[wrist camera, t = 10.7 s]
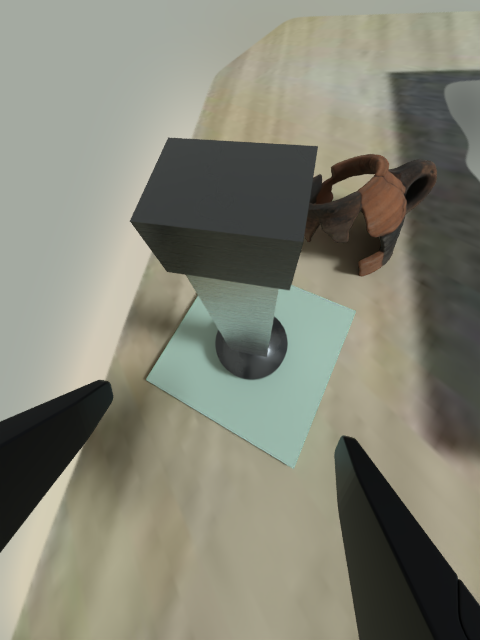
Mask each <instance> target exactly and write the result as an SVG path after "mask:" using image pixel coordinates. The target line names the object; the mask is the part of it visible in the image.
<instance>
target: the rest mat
mask: <svg viewBox="0 0 480 640" xmlns="http://www.w3.org/2000/svg"><path fill="white" fill-rule="evenodd" d="M355 312H356V311H354V310H352V309H350V308H347V307H345V306H342V305H340V304H337V303H335V302H332V301H330V300H327V299H325V298H322V297H320V296H317V295H315V294H313V293H310V292H308V291H305V290H303V289H300V288H298V287H295V286H293V285H291V288H290V291H289V290H283V289H279V291H278V297H277V302H276V308H275V314H274V316H275V317H276V318H277V319H278V320H279V321H280V322H281V324H282V325H283V327H284V329H285V332H286V335H287V341H288V346H287V352H286V355H285V358H284V360H283V362H282V363H281V365H280V366H279V368H278V369H277V370H276V371H275V372H274V373H272V374H271V375H270V376H268V377H266V378H263V379H260V380H244V379H241V378H238V377H236V376H234V375H233V374H231V373H230V372H229V371H228V370H227V369H226V368H225V367H224V366H223V365H222V363H221V362H220V360H219V358H218V356H217V353H216V347H215V340H216V335H217V332H218V328H217V326H216V324H215V323H214V321H213V319H212V318H211V316H210V314H209V313H208V311H207V309H206V308H205V306H204V304H203V303H202V301H201V299H200V298H199V296H198V297H197V298H196V300H195V301H194V303H193V305H192V306H191V308H190V309H189V311H188V313H187V314H186V316H185V317H184V319H183V321H182V322H181V324H180V326H179V327H178V329H177V330H176V332H175V334H174V335H173V337H172V338H171V340H170V342H169V343H168V345H167V346H166V348H165V350H164V351H163V353H162V354H161V356H160V358H159V359H158V361H157V363H156V364H155V366H154V367H153V369H152V371H151V372H150V374H149V375H148V377H147V379H146V380H147V381H149V382H150V383H152V384H154V385H155V386H157V387H159V388H160V389H162V390H164V391H165V392H167V393H169V394H170V395H172V396H174V397H175V398H177V399H179V400H180V401H182V402H183V403H185V404H187V405H188V406H190V407H192V408H193V409H195V410H197V411H198V412H200V413H202V414H203V415H205V416H207V417H208V418H210V419H212V420H213V421H215V422H217V423H218V424H220V425H222V426H223V427H225V428H227V429H228V430H230V431H232V432H233V433H235V434H237V435H238V436H240V437H242V438H243V439H245V440H247V441H248V442H250V443H251V444H253V445H255V446H256V447H258V448H260V449H261V450H263V451H265V452H266V453H268V454H270V455H271V456H273V457H275V458H276V459H278V460H280V461H281V462H283V463H285V464H286V465H288V466H290V467H291V468H293V469H294V467H295V465H296V462H297V459H298V457H299V454H300V452H301V449H302V447H303V444H304V442H305V439H306V437H307V434H308V432H309V429H310V426H311V424H312V421H313V419H314V416H315V414H316V411H317V409H318V406H319V404H320V401H321V399H322V396H323V394H324V391H325V388H326V386H327V383H328V381H329V378H330V376H331V373H332V371H333V368H334V366H335V363H336V361H337V358H338V356H339V353H340V350H341V348H342V345H343V343H344V340H345V338H346V335H347V333H348V330H349V328H350V325H351V323H352V320H353V317H354V315H355Z"/></svg>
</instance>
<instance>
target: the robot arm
mask: <svg viewBox="0 0 480 640" xmlns="http://www.w3.org/2000/svg"><path fill="white" fill-rule="evenodd" d="M112 401H113V392H112V388H111V384H110V382H108V381H104V380H97V381H95V382H92V383H90V384H88V385H85V386H83V387H81V388H78V389H76V390H74V391H71V392H69V393H67V394H65V395H62V396H59V397H57V398H55V399H52V400H50V401H48V402H46V403H43V404H41V405H38V406H36V407H34V408H31V409H29V410H27V411H24V412H22V413H20V414H17V415H15V416H13V417H10V418H8V419H6V420H3V421H1V422H0V552H1V551H2V550H3V549H4V547H5V546H6V545H7V543H8V542H9V541H10V540H11V538H12V537H13V536H14V534H15V533H16V532H17V530H18V529H19V528H20V527H21V525H22V524H23V523H24V521H25V520H26V519H27V518H28V516H29V515H30V513H31V512H32V511H33V510H34V508H35V507H36V506H37V505H38V503H39V502H40V501H41V499H42V498H43V497H44V496H45V494H46V493H47V492H48V490H49V489H50V488H51V486H52V485H53V484H54V482H55V481H56V480H57V478H58V477H59V476H60V475H61V474H62V472H63V471H64V470H65V468H66V467H67V466H68V464H69V463H70V462H71V461H72V459H73V458H74V457H75V455H76V454H77V453H78V451H79V450H80V449H81V448H82V446H83V445H84V444H85V442H86V441H87V440H88V438H89V437H90V435H91V434H92V432H93V431H94V429H95V428H96V426H97V425H98V423H99V422H100V420H101V418H102V417H103V415H104V414H105V412H106V411H107V409H108V408H109V406H110V404H111V403H112ZM335 473H336V488H337V502H338V511H339V518H340V524H341V530H342V537H343V543H344V549H345V555H346V561H347V567H348V573H349V579H350V585H351V592H352V598H353V604H354V610H355V616H356V622H357V628H358V634H359V640H480V605H479V604H478V602H477V601H476V600H475V598H474V597H473V596H472V594H471V593H470V592H469V590H468V589H467V588H466V586H465V585H464V584H463V582H462V581H461V580H460V579H458V576H457V574H456V573H455V572H454V570H453V569H452V568H451V566H450V565H449V564H448V562H447V561H446V560H445V558H444V557H443V556H442V554H441V553H440V552H439V550H438V549H437V548H436V546H435V545H434V544H433V542H432V541H431V539H430V538H429V537H428V535H427V534H426V533H425V531H424V530H423V529H422V527H421V526H420V525H419V523H418V522H417V521H416V519H415V518H414V517H413V515H412V514H411V513H410V511H409V510H408V509H407V507H406V506H405V505H404V503H403V502H402V501H401V499H400V498H399V496H398V495H397V494H396V492H395V491H394V490H393V488H392V487H391V486H390V484H389V483H388V482H387V480H386V479H385V478H384V476H383V475H382V474H381V472H380V471H379V470H378V468H377V467H376V466H375V464H374V463H373V462H372V460H371V459H370V458H369V456H368V455H367V453H366V452H365V451H364V449H363V448H362V447H361V445H360V444H359V443H358V441H357V440H356V439H355V438H353V437H349V436H344V435H343V436H341V438H340V440H339V442H338V445H337V447H336V449H335Z"/></svg>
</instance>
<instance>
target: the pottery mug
mask: <svg viewBox="0 0 480 640" xmlns="http://www.w3.org/2000/svg"><path fill="white" fill-rule="evenodd" d="M331 173H332V177H331V178H329V179H327V180H326V181H324V182H323V183H322V175H321V174H319V175H318V176H316V177H314V178H313V182H312V188H311V195H310V201H309V208H308V215H307V221H306V228H305V234H304V236H305V238H306V240H307V242H310V241H311V238H312V235H313V233H314V232H315V231H316V229H317V228H318V226H319V225H320V223H321V226H322V229H323V230H324V232H325V233H327V234H328V235H329V236H331V237H332V239H333V240H334V241H335V242H342V243H345V242H348V240H349V230H350V228H351V227H352V225H353V222H354V220H355V218H356V217H357V215H358V214H359V212H360V211H361V212H362V213H363V215H364V217H365V220H366V228H367V232H368V233H369V234H370V235H371V236H372V237H379V236H380V241H381V247H380V250H379V251H378V252H376V253H374V254H373V255H371V256H369V257H366V258H364V259H362V260H360V261H359V262H358V264H359V269H360V270H359V276H365V275H368V274H370V273H372V272H375V271H376V270H378V269H379V268H381V267H382V266H383V265H385V264H386V263H387V261H388V260H389V259H390V258H391V256H392V254H393V250H394V247H395V244H396V241H397V238H398V236H399V234H400V231H401V227H402V226H403V222H404V219H405V215H406V214H407V213H408V212H410V211H411V210H412V209H414V208H415V207H416V206H417V205H418V204H419V203H420V202H422V201H423V200H424V198H425V197H426V196H427V195H428V194H429V193H430V191H431V190H432V188H433V186H434V185H435V183H436V179H437V170H436V166H435V164H434V163H433V162H431V161H425V160H422V159H418V160H414V161H411V162H408V163H406V164H404V165H402V166H400V167H397V168H395V169H389V163H388V161H387V159H386V158H385V157H383V156H381V155H374V154H368V155H361V156H357V157H354V158H350V159H347V160H344V161H342V162H339V163H337V164H335V165H333V166H332V167H331ZM363 174H375V175H374V177H373V178H372V179H371V180H370V181H369V182H368V183H366V184H365V185H364V186H363V187H362V188H360V189H359V190H358V191H357V192H354V193H352V194H350V195H348V196H346V197H344V198H341V199H339V200H336V201H332V200H333V194H332V192H331V190H332V185H333V184H335V183H337V182H340V181H342V180H344V179H347V178H349V177H352V176H358V175H363ZM331 201H332V202H331Z"/></svg>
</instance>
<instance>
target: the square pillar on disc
mask: <svg viewBox="0 0 480 640" xmlns="http://www.w3.org/2000/svg"><path fill="white" fill-rule="evenodd" d="M317 149H318V146H303V145H286V144H268V143H251V142H234V141H216V140H199V139H182V138H168V140H167V142H166V144H165V146H164V148H163V150H162V152H161V155H160V157H159V159H158V161H157V163H156V166H155V168H154V170H153V172H152V174H151V176H150V179H149V181H148V183H147V185H146V187H145V189H144V192H143V194H142V196H141V198H140V200H139V202H138V205H137V207H136V209H135V211H134V213H133V216H132V218H131V220H130V222H131V223H132V225H133V226H134V227H135V229H136V230H137V231H138V233H139V234H140V236H141V237H142V238H143V240H144V241H145V242H146V244H147V245H148V246H149V248H150V249H151V251H152V252H153V253H154V255H155V256H156V257H157V259H158V260H159V261H160V263H161V264H162V266H163V267H164V268H165V270H166V271H167V272H172V273H178V274H185V275H186V276H187V278H188V279H189V281H190V283H191V284H192V286H193V288H194V289H195V291H196V293H197V294H198V296H199V298H200V299H201V301H202V303H203V304H204V306H205V308H206V309H207V311H208V313H209V314H210V316H211V318H212V319H213V321H214V323H215V324H216V326H217V328H218V332H217V335H216V340H215V347H216V353H217V356H218V358H219V360H220V362H221V363H222V365H223V366H224V367H225V368H226V369H227V370H228V371H229V372H230V373H231V374H233V375H234V376H236V377H238V378H241V379H244V380H260V379H263V378H266V377H268V376H270V375H271V374H272V373H274V372H275V371H276V370H277V369H278V368H279V366H280V365H281V363H282V362H283V360H284V358H285V355H286V352H287V346H288V341H287V335H286V332H285V329H284V327H283V325H282V324H281V322H280V321H279V320H278V319H277V318H276V317H275V316H274V314H275V308H276V302H277V297H278V291H279V289H283V290H289V291H290V288H291V284H292V281H293V277H294V273H295V270H296V266H297V263H298V259H299V256H300V252H301V249H302V245H303V241H304V234H305V228H306V221H307V215H308V208H309V201H310V195H311V188H312V182H313V175H314V168H315V162H316V155H317Z"/></svg>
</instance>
